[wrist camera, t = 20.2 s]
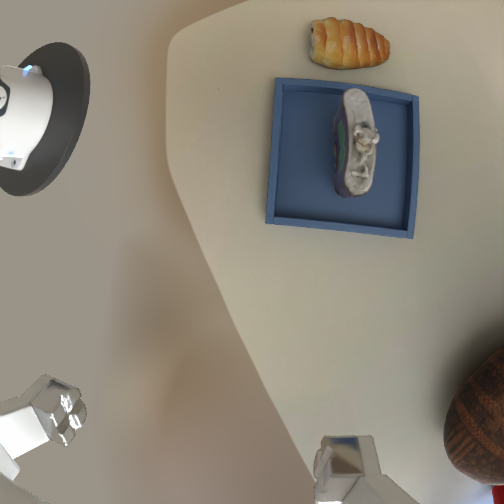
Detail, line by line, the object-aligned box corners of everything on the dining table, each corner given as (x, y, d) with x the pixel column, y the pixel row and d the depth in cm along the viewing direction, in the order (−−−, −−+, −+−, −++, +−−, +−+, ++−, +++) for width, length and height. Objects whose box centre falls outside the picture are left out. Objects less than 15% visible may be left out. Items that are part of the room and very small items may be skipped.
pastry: (383, 32, 27) (390, 17, 23) (390, 78, 28) (398, 66, 24) (308, 25, 28) (308, 9, 25) (310, 71, 30) (311, 57, 26)
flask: (331, 113, 30) (344, 77, 19) (357, 115, 29) (381, 80, 19) (332, 197, 31) (347, 197, 21) (359, 199, 31) (386, 199, 20)
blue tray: (268, 221, 33) (265, 223, 31) (277, 85, 31) (275, 77, 28) (405, 236, 31) (413, 239, 29) (411, 102, 28) (418, 96, 26)
